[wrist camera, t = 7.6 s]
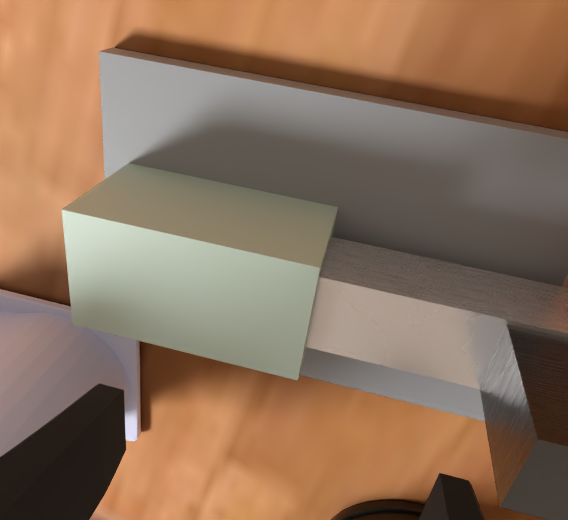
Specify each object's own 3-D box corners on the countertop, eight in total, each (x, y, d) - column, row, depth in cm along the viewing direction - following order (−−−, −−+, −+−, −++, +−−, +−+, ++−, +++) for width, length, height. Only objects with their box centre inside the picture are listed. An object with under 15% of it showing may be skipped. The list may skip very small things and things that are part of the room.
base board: (122, 315, 25) (111, 328, 24) (113, 47, 19) (99, 51, 18) (604, 434, 22) (612, 453, 21) (777, 170, 16) (798, 182, 15)
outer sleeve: (130, 262, 22) (72, 324, 18) (128, 162, 20) (61, 209, 16) (317, 306, 21) (297, 380, 17) (337, 207, 19) (320, 267, 15)
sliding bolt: (252, 285, 20) (181, 426, 14) (259, 221, 19) (186, 345, 12) (616, 370, 19) (718, 569, 12) (655, 307, 17) (793, 497, 11)
